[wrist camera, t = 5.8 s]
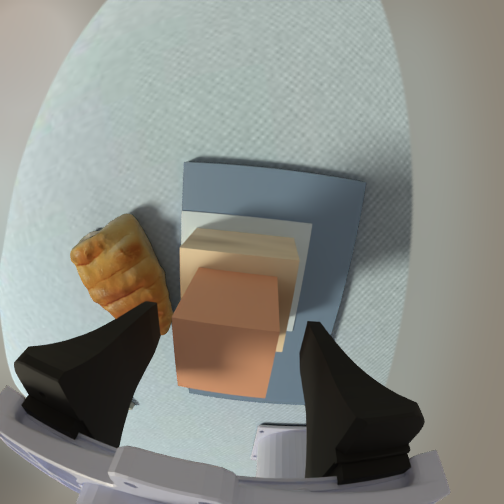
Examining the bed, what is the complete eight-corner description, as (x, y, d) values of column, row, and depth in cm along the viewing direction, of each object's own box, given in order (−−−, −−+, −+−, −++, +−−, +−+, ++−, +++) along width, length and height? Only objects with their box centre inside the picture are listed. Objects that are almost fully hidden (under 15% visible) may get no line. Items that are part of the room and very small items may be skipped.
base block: (280, 319, 19) (282, 352, 16) (196, 309, 19) (183, 339, 16) (293, 237, 17) (299, 260, 13) (196, 227, 17) (179, 247, 14)
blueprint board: (305, 398, 23) (306, 405, 22) (191, 386, 24) (189, 393, 23) (362, 181, 16) (366, 183, 15) (187, 161, 16) (183, 162, 15)
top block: (267, 338, 15) (265, 398, 11) (198, 329, 15) (178, 385, 11) (277, 276, 14) (279, 331, 10) (198, 267, 14) (171, 317, 10)
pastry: (199, 311, 20) (186, 343, 17) (137, 332, 22) (119, 361, 18) (135, 202, 18) (106, 216, 14) (78, 241, 19) (49, 259, 16)
